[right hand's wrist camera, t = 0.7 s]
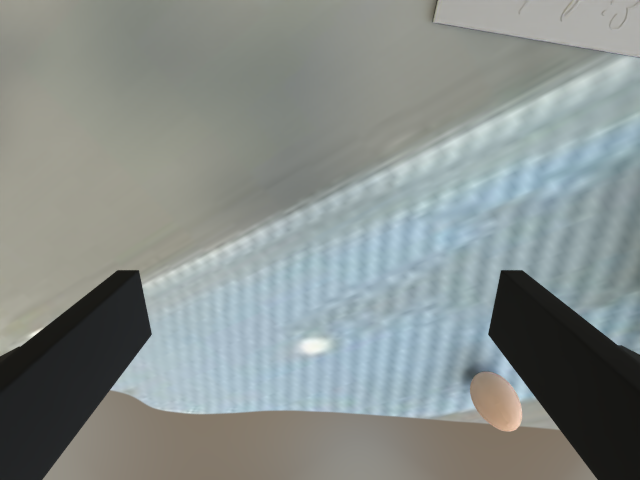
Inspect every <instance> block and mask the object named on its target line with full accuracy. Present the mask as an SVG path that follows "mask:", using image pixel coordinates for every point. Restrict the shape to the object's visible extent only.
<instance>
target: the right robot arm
mask: <svg viewBox="0 0 640 480" xmlns="http://www.w3.org/2000/svg"><path fill="white" fill-rule="evenodd" d="M151 335H152V333H151V328H150V323H149V319H148V314H147V309H146V304H145V299H144V294H143V289H142V284H141V279H140V274H139V270H118V271H116V272H115V273H114V274H112V275H111V276H110V277H109V278H107V279H106V280H105V281H104V282H102V283H101V284H100V285H98V286H97V287H96V288H95V289H93V290H92V291H91V292H90V293H88V294H87V295H86V296H84V297H83V298H82V299H81V300H79V301H78V302H77V303H76V304H74V305H73V306H72V307H70V308H69V309H68V310H67V311H65V312H64V313H63V314H62V315H60V316H59V317H58V318H56V319H55V320H54V321H53V322H51V323H50V324H49V325H48V326H46V327H45V328H44V329H43V330H41V331H40V332H39V333H37V334H36V335H35V336H34V337H32V338H31V339H30V340H29V341H27V342H26V343H25V344H23V345H22V346H21V347H17V348H15V349H13V350H12V351H10V352H8V353H6V354H4V355H2V356H0V480H42V479H43V478H44V477H45V475H46V474H47V473H48V471H49V470H50V469H51V467H52V466H53V465H54V463H55V462H56V461H57V459H58V458H59V457H60V455H61V454H62V453H63V451H64V450H65V449H66V448H67V446H68V445H69V444H70V442H71V441H72V440H73V438H74V437H75V436H76V434H77V433H78V432H79V430H80V429H81V428H82V426H83V425H84V424H85V422H86V421H87V420H88V418H89V417H90V416H91V414H92V413H93V412H94V410H95V409H96V408H97V406H98V405H99V404H100V402H101V401H102V400H103V398H104V397H105V396H106V394H107V393H108V392H109V390H110V389H111V388H112V387H113V385H114V384H115V383H116V381H117V380H118V379H119V377H120V376H121V375H122V373H123V372H124V371H125V369H126V368H127V367H128V365H129V364H130V363H131V361H132V360H133V359H134V357H135V356H136V355H137V353H138V352H139V351H140V349H141V348H142V347H143V345H144V344H145V343H146V341H147V340H148V339H149V337H150V336H151ZM488 335H489V336H490V337H491V339H492V340H493V341H494V343H495V344H496V345H497V347H498V348H499V349H500V351H501V352H502V353H503V355H504V356H505V357H506V359H507V360H508V361H509V363H510V364H511V365H512V367H513V368H514V369H515V371H516V372H517V373H518V375H519V376H520V377H521V379H522V380H523V381H524V383H525V384H526V385H527V387H528V388H529V389H530V390H531V392H532V393H533V394H534V396H535V397H536V398H537V400H538V401H539V402H540V404H541V405H542V406H543V408H544V409H545V410H546V412H547V413H548V414H549V416H550V417H551V418H552V420H553V421H554V422H555V424H556V425H557V426H558V428H559V429H560V430H561V432H562V433H563V434H564V436H565V437H566V438H567V440H568V441H569V442H570V444H571V445H572V446H573V447H574V449H575V450H576V451H577V453H578V454H579V455H580V457H581V458H582V459H583V461H584V462H585V463H586V465H587V466H588V467H589V469H590V470H591V471H592V473H593V474H594V475H595V477H596V478H597V479H598V480H640V355H639V354H637V353H635V352H633V351H631V350H629V349H627V348H626V347H624V346H622V345H617V344H615V343H614V342H613V341H611V340H610V339H609V338H608V337H606V336H605V335H604V334H603V333H601V332H600V331H599V330H597V329H596V328H595V327H594V326H592V325H591V324H590V323H589V322H587V321H586V320H585V319H584V318H582V317H581V316H580V315H578V314H577V313H576V312H575V311H573V310H572V309H571V308H570V307H568V306H567V305H566V304H564V303H563V302H562V301H561V300H559V299H558V298H557V297H556V296H554V295H553V294H552V293H550V292H549V291H548V290H547V289H545V288H544V287H543V286H542V285H540V284H539V283H538V282H536V281H535V280H534V279H533V278H531V277H530V276H529V275H528V274H526V273H525V272H524V271H522V270H501V274H500V279H499V284H498V289H497V294H496V299H495V304H494V309H493V314H492V318H491V323H490V328H489V333H488Z"/></svg>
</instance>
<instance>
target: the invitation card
mask: <svg viewBox="0 0 640 480" xmlns="http://www.w3.org/2000/svg"><path fill="white" fill-rule="evenodd" d="M433 23H439V24H445V25H451V26H457V27H463V28H469V29H475V30H480V31H486V32H492V33H498V34H504V35H510V36H516V37H522V38H528V39H534V40H539V41H545V42H551V43H557V44H563V45H569V46H575V47H581V48H587V49H593V50H598V51H604V52H610V53H616V54H622V55H628V56H634V57H640V0H438V1H437V5H436V10H435V14H434V19H433Z"/></svg>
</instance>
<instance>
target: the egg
mask: <svg viewBox="0 0 640 480" xmlns="http://www.w3.org/2000/svg"><path fill="white" fill-rule="evenodd" d="M470 394H471V398H472V401H473V404H474V406H475V407H476V409H477V411H478V412H479V413H480V415H481V416H482V417H483V418H484V419H485V420H486V421H487V422H488V423H490V424H491V425H492V426H494V427H496V428H497V429H499V430H502V431H513V430H516V429H517V428H518V427H519V426H520V423H521V420H522V409H521V404H520V401H519V398H518V396H517V394H516V392H515V390H514V389H513V387H512V386H511V385H510V384H509V382H508V381H506V380H505V379H504V378H503V377H501V376H500V375H498V374H495V373H492V372H480V373H478V374H476V375H475V376H474V378H473V379H472V382H471V385H470Z"/></svg>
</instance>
